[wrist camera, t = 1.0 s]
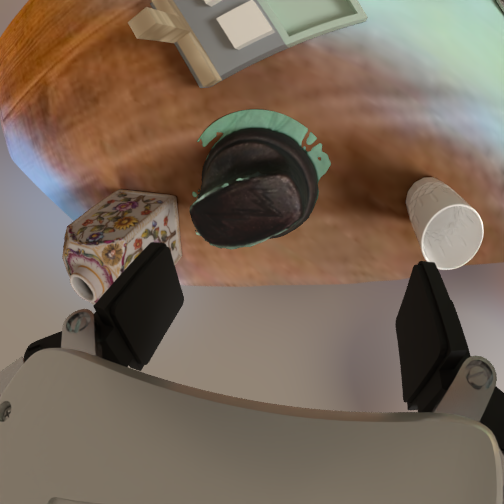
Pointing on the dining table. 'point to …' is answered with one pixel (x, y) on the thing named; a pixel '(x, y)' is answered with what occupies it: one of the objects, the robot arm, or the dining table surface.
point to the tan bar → (174, 36)
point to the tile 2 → (245, 25)
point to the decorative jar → (117, 238)
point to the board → (224, 37)
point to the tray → (311, 17)
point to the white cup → (443, 223)
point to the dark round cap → (256, 179)
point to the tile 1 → (212, 2)
